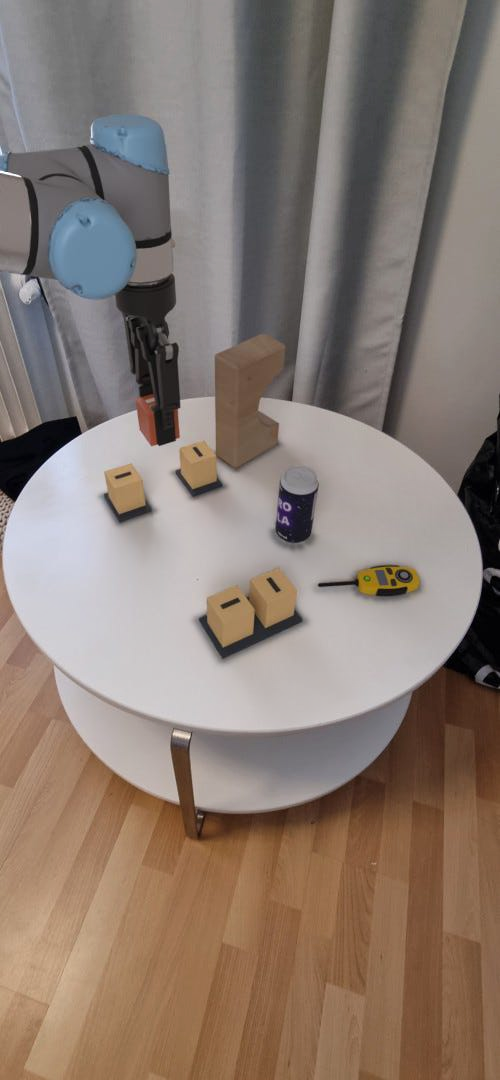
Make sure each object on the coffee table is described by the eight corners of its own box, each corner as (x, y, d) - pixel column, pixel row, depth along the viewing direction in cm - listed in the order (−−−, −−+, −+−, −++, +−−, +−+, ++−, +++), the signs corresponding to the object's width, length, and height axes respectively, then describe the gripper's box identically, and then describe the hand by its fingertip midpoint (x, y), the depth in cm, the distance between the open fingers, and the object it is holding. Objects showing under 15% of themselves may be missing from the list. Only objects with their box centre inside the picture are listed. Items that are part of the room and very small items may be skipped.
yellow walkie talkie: (424, 586, 84) (321, 593, 82) (421, 595, 85) (320, 601, 84) (414, 561, 87) (315, 567, 86) (411, 569, 88) (313, 576, 87)
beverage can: (285, 516, 95) (291, 458, 87) (316, 529, 94) (326, 471, 85) (268, 537, 92) (273, 479, 83) (300, 552, 90) (309, 494, 81)
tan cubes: (119, 522, 93) (113, 493, 89) (104, 496, 97) (98, 467, 93) (222, 487, 100) (222, 458, 95) (204, 463, 104) (203, 435, 99)
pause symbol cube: (151, 446, 85) (147, 414, 81) (139, 429, 88) (135, 397, 84) (180, 437, 87) (177, 406, 83) (167, 421, 90) (164, 389, 86)
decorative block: (258, 430, 111) (263, 331, 97) (279, 444, 108) (287, 344, 94) (213, 454, 106) (212, 353, 91) (234, 470, 103) (236, 368, 88)
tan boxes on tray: (222, 659, 77) (222, 632, 72) (198, 620, 81) (197, 592, 76) (302, 622, 81) (306, 594, 77) (276, 587, 85) (279, 559, 81)
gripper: (203, 297, 67) (208, 458, 84) (144, 243, 77) (159, 396, 94) (141, 310, 64) (159, 474, 81) (88, 253, 74) (114, 408, 91)
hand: (159, 432), depth 87 cm, fingers closed on pause symbol cube, 5 cm apart
